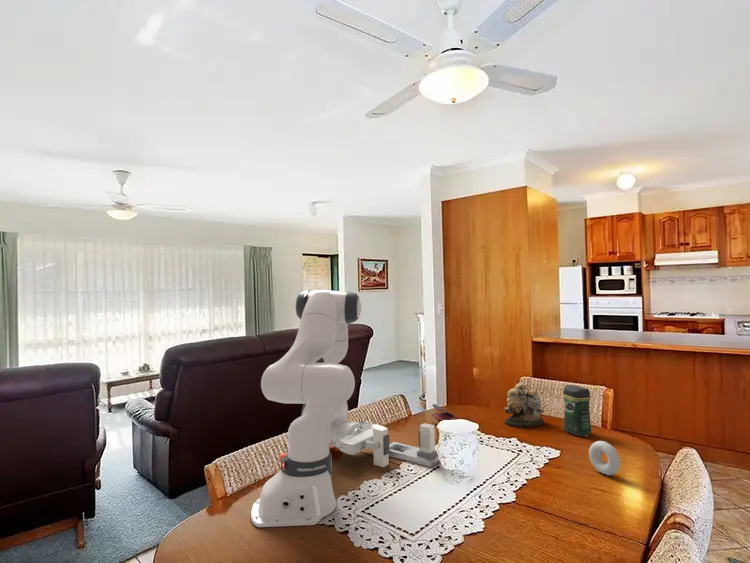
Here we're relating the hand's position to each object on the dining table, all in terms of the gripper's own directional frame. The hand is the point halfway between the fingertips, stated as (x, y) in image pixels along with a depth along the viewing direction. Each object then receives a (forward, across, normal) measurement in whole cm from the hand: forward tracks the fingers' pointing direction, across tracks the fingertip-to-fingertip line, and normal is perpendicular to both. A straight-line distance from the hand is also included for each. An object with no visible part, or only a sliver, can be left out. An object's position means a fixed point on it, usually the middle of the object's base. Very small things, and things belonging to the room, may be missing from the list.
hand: (382, 443), depth 141 cm
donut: (+61, +33, +7) cm, 69 cm away
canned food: (-4, +50, +7) cm, 51 cm away
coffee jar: (+46, +67, +7) cm, 82 cm away
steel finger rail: (+5, +11, +7) cm, 14 cm away
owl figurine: (+25, +68, +7) cm, 73 cm away
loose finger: (-1, 0, +7) cm, 7 cm away
